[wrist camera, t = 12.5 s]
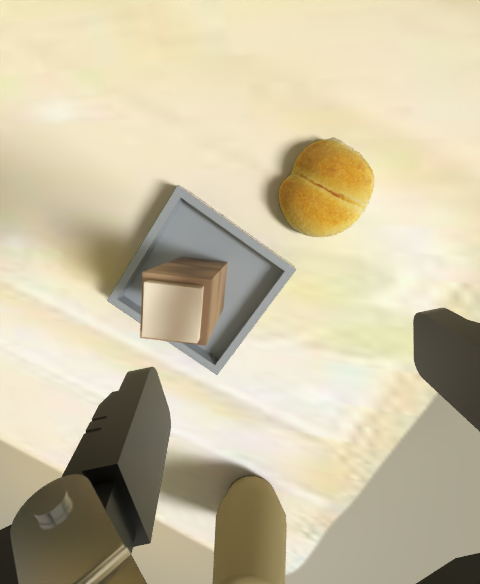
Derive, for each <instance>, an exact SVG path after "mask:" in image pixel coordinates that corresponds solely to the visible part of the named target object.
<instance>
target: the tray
mask: <svg viewBox="0 0 480 584" xmlns="http://www.w3.org/2000/svg"><path fill="white" fill-rule="evenodd" d="M180 257H184V258H194V259H203V260H212V261H221V262H228V266H227V277H226V288H225V298H224V308H223V311H222V313H221V315H220V317H219V319H218V321H217V323H216V325H215V328H214V330H213V332H212V334H211V336H210V338H209V340H208V342H207V344H206V346H204V345H196V344H187V343H179V342H171V341H167V342H169V343H170V344H172V345H173V346H175V347H176V348H178V349H179V350H181V351H182V352H184V353H185V354H187V355H188V356H190V357H191V358H193V359H194V360H195V361H197V362H198V363H200V364H201V365H203V366H204V367H206V368H207V369H209V370H210V371H212V372H213V373H215V374H216V375H218V373H219V372H220V371H221V369H222V368H223V367H224V365H225V364H226V363H227V361H228V360H229V359H230V357H231V356H232V355H233V353H234V352H235V351H236V349H237V348H238V347H239V345H240V344H241V343H242V341H243V340H244V339H245V337H246V336H247V335H248V333H249V332H250V331H251V329H252V328H253V327H254V325H255V324H256V323H257V321H258V320H259V319H260V317H261V316H262V315H263V313H264V312H265V311H266V309H267V308H268V307H269V305H270V304H271V303H272V301H273V300H274V299H275V297H276V296H277V295H278V293H279V292H280V291H281V289H282V288H283V287H284V285H285V284H286V283H287V281H288V280H289V279H290V277H291V276H292V275H293V273H294V272H295V271H296V268H295V267H294V266H293V265H292V264H290V263H289V262H287V261H286V260H285V259H283V258H282V257H280V256H279V255H278V254H276V253H275V252H273V251H272V250H271V249H269V248H268V247H266V246H265V245H264V244H262V243H261V242H259V241H258V240H256V239H255V238H254V237H252V236H251V235H249V234H248V233H247V232H245V231H244V230H242V229H241V228H240V227H238V226H237V225H235V224H234V223H233V222H231V221H230V220H228V219H227V218H226V217H224V216H223V215H221V214H220V213H219V212H217V211H216V210H214V209H213V208H212V207H210V206H209V205H207V204H206V203H205V202H203V201H202V200H200V199H199V198H198V197H196V196H195V195H193V194H192V193H191V192H189V191H188V190H186V189H185V188H183V187H181V186H179V185H178V186H177V187H176V189H175V191H174V192H173V194H172V196H171V197H170V199H169V200H168V202H167V204H166V205H165V207H164V209H163V210H162V212H161V213H160V215H159V217H158V218H157V220H156V222H155V223H154V225H153V226H152V228H151V230H150V231H149V233H148V235H147V236H146V238H145V240H144V241H143V243H142V244H141V246H140V248H139V249H138V251H137V253H136V254H135V256H134V257H133V259H132V261H131V262H130V264H129V266H128V267H127V269H126V270H125V272H124V274H123V275H122V277H121V279H120V280H119V282H118V284H117V285H116V287H115V288H114V290H113V292H112V293H111V295H110V297H109V298H108V300H107V301H108V302H110V303H111V304H113V305H114V306H115V307H117V308H118V309H120V310H121V311H123V312H124V313H126V314H127V315H129V316H130V317H132V318H133V319H135V320H136V321H138V322H139V323H141V301H142V273H143V272H144V271H147V270H149V269H152V268H154V267H157V266H159V265H162V264H165V263H167V262H170V261H172V260H175V259H177V258H180Z"/></svg>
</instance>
